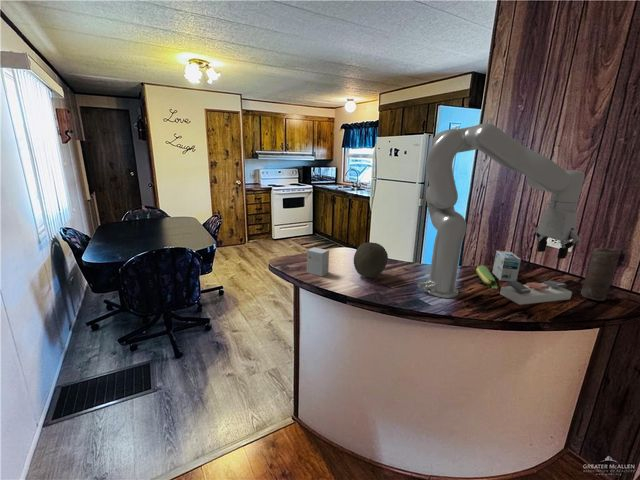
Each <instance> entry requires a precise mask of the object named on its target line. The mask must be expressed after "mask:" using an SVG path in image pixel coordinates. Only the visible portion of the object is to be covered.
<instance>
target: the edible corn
mask: <svg viewBox="0 0 640 480" xmlns="http://www.w3.org/2000/svg"><path fill="white" fill-rule="evenodd" d="M475 272H476V275H477V276H478V277H479V279H480V281H482V282H483V284H484V285H485V286H487V287H488V288H489V289H490V287H491V289H492V290H494V289H496V290H498V283H497V282H496V279H495V277H494V276H493V273H491V271H490V270H489V268H488V267H487V266H486V265H483V264H481V265H477V266H476V267H475Z"/></svg>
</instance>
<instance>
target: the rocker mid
mask: <svg viewBox="0 0 640 480" xmlns="http://www.w3.org/2000/svg"><path fill="white" fill-rule="evenodd" d="M525 285H526V286H530V287H533V288H537V289H549V286H547V285H543V284H539V283H538V282H533V281H532V282H526V283H525Z"/></svg>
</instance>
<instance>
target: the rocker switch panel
mask: <svg viewBox="0 0 640 480" xmlns="http://www.w3.org/2000/svg"><path fill="white" fill-rule="evenodd" d="M539 284H543V282H542V283H541V282H540V283H539ZM523 285H524V286H525V287H526V288H528V289H529V290H531V291H530V293H522V294H521V293H520V292H518V291H517V290H515V289H514V288H513V287H511V286H510V285H508V286H501V287H500V292H499V295H501V296H503V297H504V298H507V299H508V300H510V301H512V302H514V303H516V304H517V305H519V306H520V305H529V304H537V303H538V304H539V303H546V302H556V301H557V302H559V301H568V300H571V297H572V295H573V291H571V290H569V289H567V288H565V287H561V288H557V287H553V286H549V285H547V286H549V289H537V288H533V287H530V286H526V284H523ZM543 285H545V284H543Z"/></svg>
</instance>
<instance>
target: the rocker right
mask: <svg viewBox="0 0 640 480" xmlns="http://www.w3.org/2000/svg"><path fill="white" fill-rule="evenodd" d="M542 283H543V284H545V285H549V286H553V287H557V288H561V287H562V288H567V286H568V285H567V284H566V283H562V282H558V281H553V280H547V281H546V280H545V281H543V282H542Z"/></svg>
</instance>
